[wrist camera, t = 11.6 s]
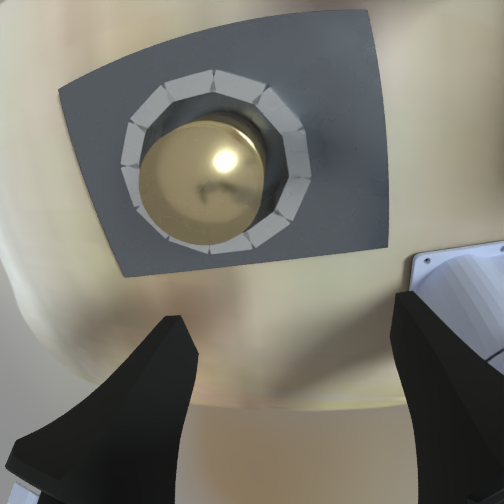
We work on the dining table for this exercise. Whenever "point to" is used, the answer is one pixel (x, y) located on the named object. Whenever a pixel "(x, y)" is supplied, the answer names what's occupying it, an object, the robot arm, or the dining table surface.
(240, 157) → the cylinder
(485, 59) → the dining table surface
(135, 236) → the socket plate
